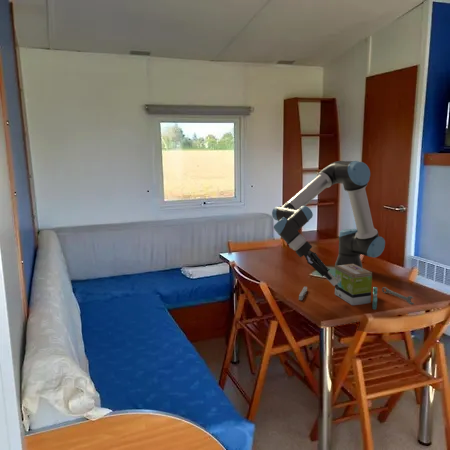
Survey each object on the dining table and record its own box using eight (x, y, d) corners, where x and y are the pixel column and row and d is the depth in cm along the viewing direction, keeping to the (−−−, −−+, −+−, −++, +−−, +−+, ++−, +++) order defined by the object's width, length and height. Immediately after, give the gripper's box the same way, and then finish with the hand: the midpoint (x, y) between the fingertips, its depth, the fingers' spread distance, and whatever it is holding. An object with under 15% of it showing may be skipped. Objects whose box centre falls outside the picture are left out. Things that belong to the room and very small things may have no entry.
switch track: (304, 289, 206) (304, 280, 205) (377, 297, 195) (377, 287, 194) (298, 300, 191) (298, 290, 190) (376, 309, 180) (377, 298, 179)
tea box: (333, 295, 199) (334, 264, 196) (352, 292, 201) (353, 263, 199) (352, 306, 184) (353, 273, 182) (371, 303, 187) (373, 271, 185)
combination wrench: (381, 285, 202) (412, 297, 183) (384, 285, 202) (415, 297, 184) (381, 293, 203) (412, 306, 184) (383, 292, 203) (414, 305, 184)
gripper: (297, 248, 202) (331, 284, 199) (292, 254, 190) (328, 293, 187) (308, 238, 199) (343, 274, 197) (304, 243, 187) (341, 283, 185)
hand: (336, 283), depth 192 cm, fingers closed
